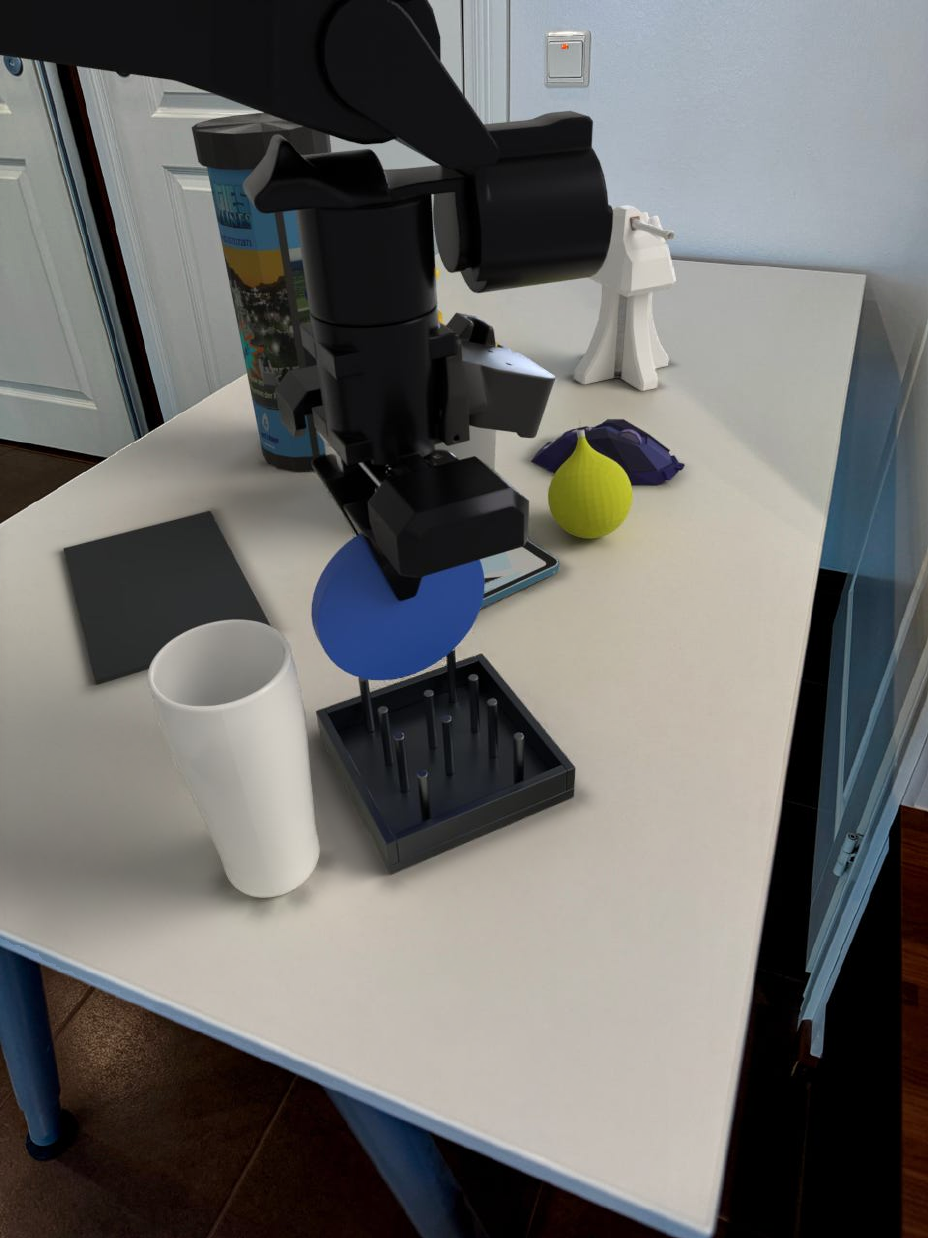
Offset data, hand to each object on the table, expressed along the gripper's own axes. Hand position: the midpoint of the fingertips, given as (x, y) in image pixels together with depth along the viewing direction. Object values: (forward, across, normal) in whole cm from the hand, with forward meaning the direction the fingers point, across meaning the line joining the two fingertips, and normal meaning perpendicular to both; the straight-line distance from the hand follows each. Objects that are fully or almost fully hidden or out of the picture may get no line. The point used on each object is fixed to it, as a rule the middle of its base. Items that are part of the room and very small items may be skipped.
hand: (401, 590), depth 49 cm
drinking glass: (+13, -4, +11) cm, 17 cm away
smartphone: (+13, +15, -11) cm, 23 cm away
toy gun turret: (+13, +45, -47) cm, 66 cm away
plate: (+6, 0, 0) cm, 6 cm away
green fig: (+13, +17, -24) cm, 32 cm away
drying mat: (+13, +27, +11) cm, 32 cm away
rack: (+13, -2, -1) cm, 13 cm away
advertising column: (+13, +45, -8) cm, 48 cm away
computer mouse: (+13, +27, -33) cm, 45 cm away
